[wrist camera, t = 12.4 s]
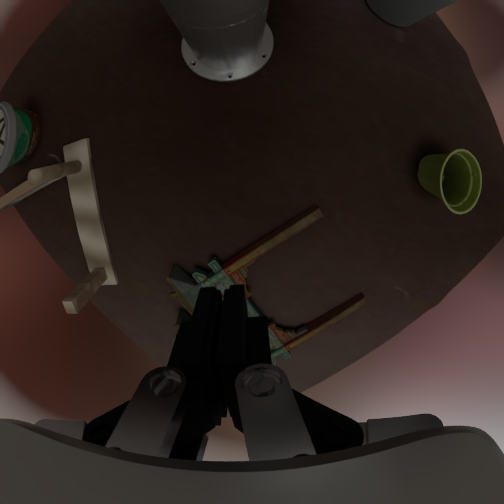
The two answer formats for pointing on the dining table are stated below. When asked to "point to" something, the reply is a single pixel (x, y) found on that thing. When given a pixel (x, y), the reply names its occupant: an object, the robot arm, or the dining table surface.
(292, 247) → the dining table surface
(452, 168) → the plant pot
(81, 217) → the gate frame
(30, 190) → the panel
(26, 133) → the food container
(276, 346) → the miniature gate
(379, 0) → the water bottle
